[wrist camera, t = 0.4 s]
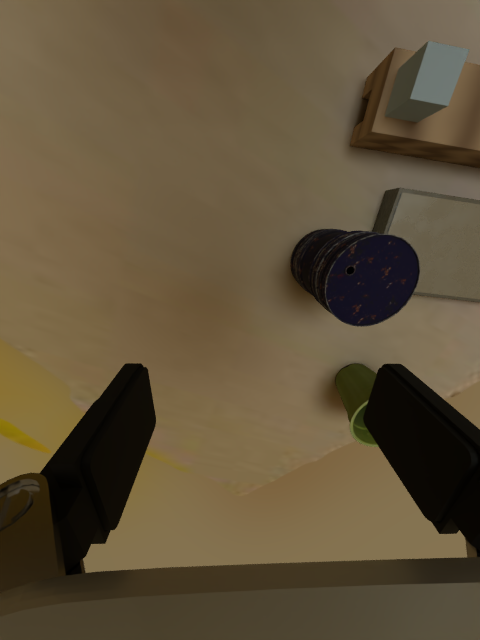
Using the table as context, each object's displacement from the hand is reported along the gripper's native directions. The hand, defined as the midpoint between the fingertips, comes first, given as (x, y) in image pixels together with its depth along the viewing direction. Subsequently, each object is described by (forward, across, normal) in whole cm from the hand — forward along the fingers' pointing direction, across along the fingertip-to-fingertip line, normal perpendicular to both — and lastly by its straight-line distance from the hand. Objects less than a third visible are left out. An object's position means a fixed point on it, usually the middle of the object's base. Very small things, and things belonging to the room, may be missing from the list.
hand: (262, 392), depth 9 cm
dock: (+30, -32, -3) cm, 44 cm away
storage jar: (+30, -13, -1) cm, 33 cm away
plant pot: (+30, -24, +22) cm, 44 cm away
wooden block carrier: (+30, -26, -19) cm, 44 cm away
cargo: (+25, -18, -20) cm, 36 cm away
